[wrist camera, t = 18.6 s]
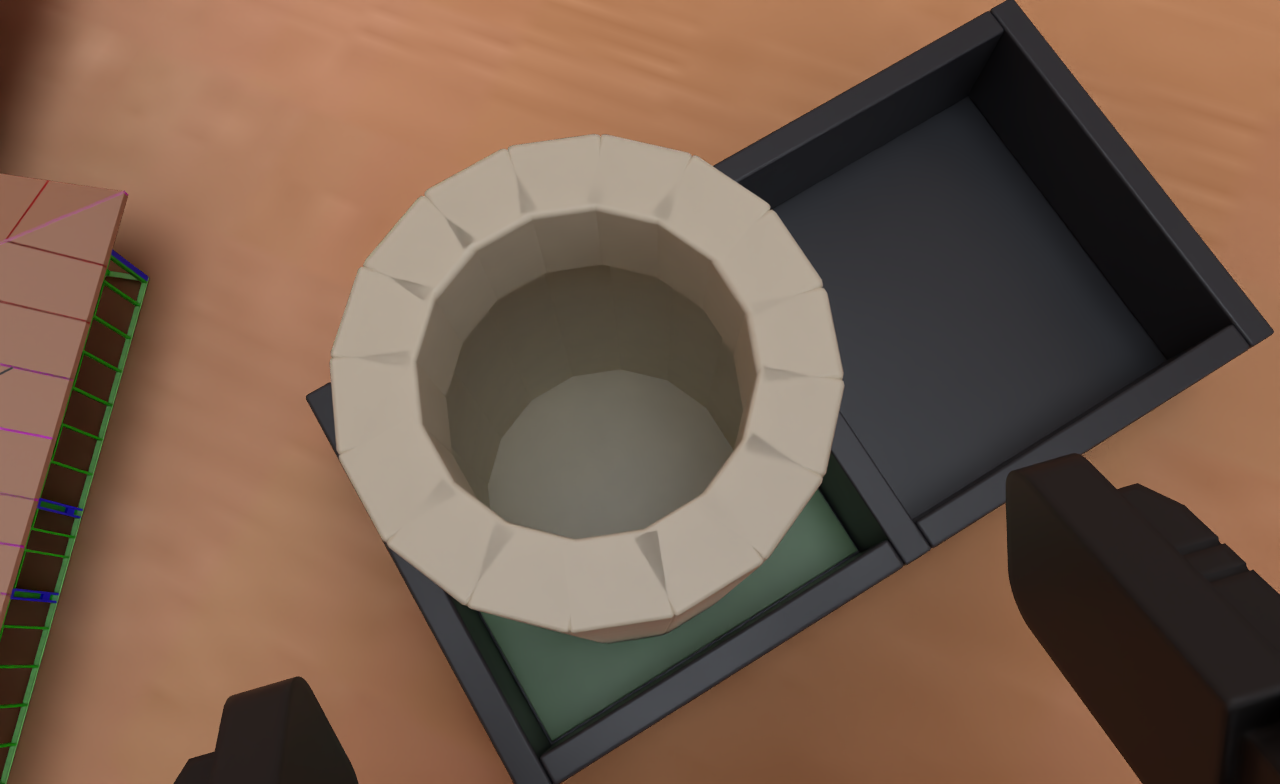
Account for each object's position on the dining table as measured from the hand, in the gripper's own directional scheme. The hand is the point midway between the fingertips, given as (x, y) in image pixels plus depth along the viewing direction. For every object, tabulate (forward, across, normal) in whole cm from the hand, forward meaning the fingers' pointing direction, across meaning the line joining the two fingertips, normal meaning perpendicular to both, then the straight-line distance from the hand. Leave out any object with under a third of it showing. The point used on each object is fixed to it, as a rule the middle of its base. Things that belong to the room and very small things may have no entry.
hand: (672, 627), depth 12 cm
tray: (+11, -4, +5) cm, 13 cm away
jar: (+10, 0, +5) cm, 11 cm away
